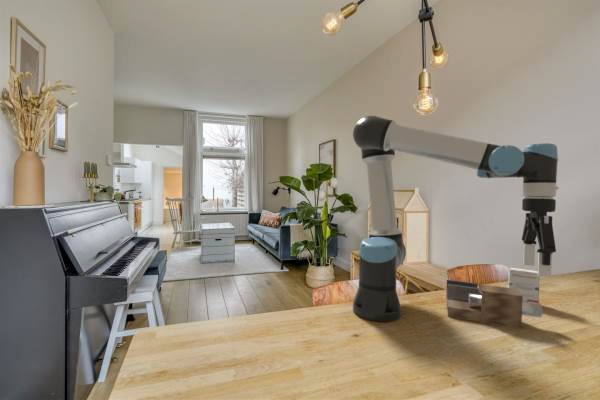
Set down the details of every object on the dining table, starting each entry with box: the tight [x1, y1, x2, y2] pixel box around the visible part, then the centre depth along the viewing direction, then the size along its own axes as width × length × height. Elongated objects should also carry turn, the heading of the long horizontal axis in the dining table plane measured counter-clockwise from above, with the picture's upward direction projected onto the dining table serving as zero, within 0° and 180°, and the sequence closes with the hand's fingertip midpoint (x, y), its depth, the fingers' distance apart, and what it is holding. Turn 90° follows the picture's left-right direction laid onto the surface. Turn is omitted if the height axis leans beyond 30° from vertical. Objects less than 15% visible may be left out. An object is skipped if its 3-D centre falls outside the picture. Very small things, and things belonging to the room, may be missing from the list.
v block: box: [445, 279, 479, 303], centre depth 106 cm, size 10×7×6 cm
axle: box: [468, 294, 543, 318], centre depth 89 cm, size 18×4×4 cm, turn 66°
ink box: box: [507, 267, 541, 303], centre depth 104 cm, size 9×5×12 cm, turn 58°
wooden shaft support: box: [446, 283, 523, 329], centre depth 92 cm, size 19×7×10 cm, turn 66°
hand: (535, 270), depth 86 cm, fingers open, 13 cm apart
